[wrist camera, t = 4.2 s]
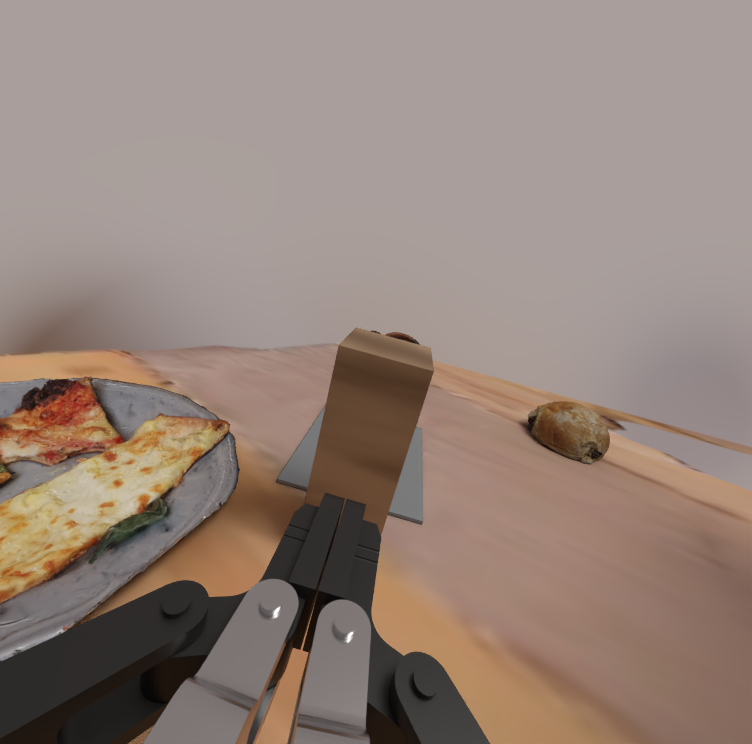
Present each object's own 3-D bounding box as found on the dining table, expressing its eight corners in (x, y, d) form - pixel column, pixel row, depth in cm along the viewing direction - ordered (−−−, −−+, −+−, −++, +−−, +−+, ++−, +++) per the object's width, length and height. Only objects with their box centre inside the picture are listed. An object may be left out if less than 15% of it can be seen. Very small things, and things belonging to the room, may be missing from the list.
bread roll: (548, 482, 46) (598, 451, 41) (507, 417, 52) (546, 383, 47) (589, 473, 51) (637, 445, 46) (547, 415, 57) (586, 385, 52)
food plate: (100, 375, 36) (99, 343, 35) (292, 463, 31) (298, 429, 29) (-581, 551, 13) (-655, 479, 12) (-310, 1017, 8) (-393, 971, 7)
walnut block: (316, 499, 27) (355, 327, 22) (377, 517, 27) (430, 347, 22) (294, 550, 22) (339, 345, 18) (369, 572, 22) (433, 371, 17)
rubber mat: (327, 404, 43) (327, 401, 43) (421, 430, 42) (421, 428, 42) (276, 481, 28) (277, 478, 28) (421, 524, 27) (422, 521, 27)
